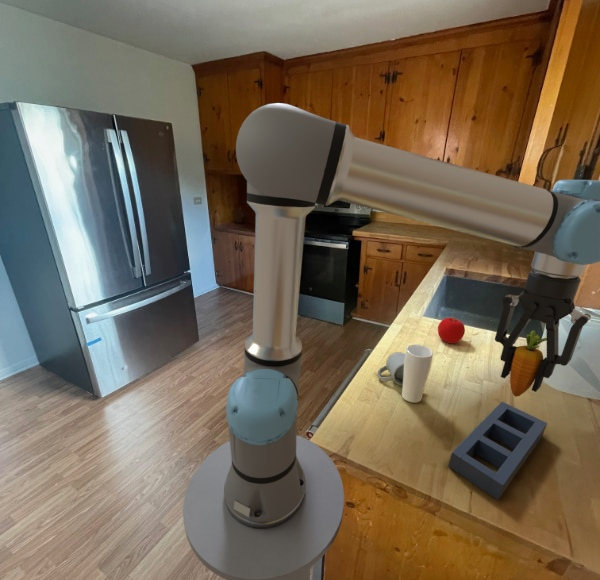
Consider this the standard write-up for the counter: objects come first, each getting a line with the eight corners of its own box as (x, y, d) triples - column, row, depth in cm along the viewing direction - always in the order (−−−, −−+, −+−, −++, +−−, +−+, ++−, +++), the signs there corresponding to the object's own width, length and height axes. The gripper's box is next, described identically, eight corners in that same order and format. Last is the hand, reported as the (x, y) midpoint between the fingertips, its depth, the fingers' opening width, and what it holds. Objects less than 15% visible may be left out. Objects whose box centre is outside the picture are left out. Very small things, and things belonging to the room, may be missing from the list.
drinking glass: (409, 387, 96) (417, 341, 90) (429, 399, 90) (438, 352, 85) (393, 395, 92) (400, 348, 86) (413, 408, 87) (422, 360, 81)
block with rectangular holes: (448, 466, 70) (451, 452, 69) (498, 413, 86) (501, 401, 84) (497, 500, 63) (503, 485, 62) (542, 436, 79) (547, 423, 77)
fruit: (467, 345, 119) (473, 320, 115) (446, 348, 117) (451, 322, 113) (450, 333, 127) (455, 309, 123) (430, 336, 125) (435, 312, 121)
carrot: (507, 386, 72) (526, 324, 66) (533, 397, 68) (555, 333, 62) (497, 394, 69) (516, 331, 63) (523, 407, 65) (546, 341, 60)
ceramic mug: (405, 369, 104) (408, 348, 101) (417, 385, 96) (420, 362, 93) (373, 371, 103) (375, 350, 100) (382, 387, 95) (385, 365, 92)
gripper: (627, 281, 54) (579, 396, 63) (508, 258, 67) (482, 357, 76) (618, 290, 50) (568, 413, 59) (492, 265, 62) (467, 368, 71)
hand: (520, 381), depth 67 cm, fingers closed on carrot, 5 cm apart
